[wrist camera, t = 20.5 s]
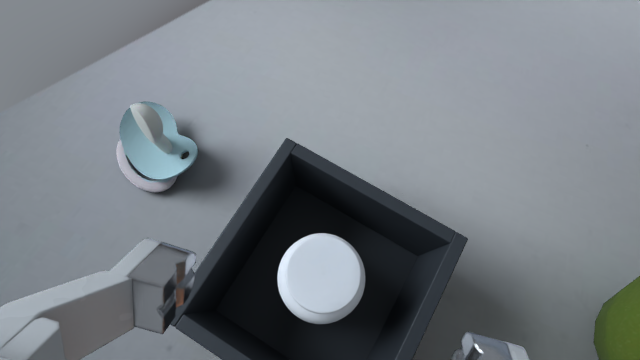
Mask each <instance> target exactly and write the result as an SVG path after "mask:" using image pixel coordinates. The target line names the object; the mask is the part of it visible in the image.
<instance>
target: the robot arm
mask: <svg viewBox="0 0 640 360" xmlns="http://www.w3.org/2000/svg"><path fill="white" fill-rule="evenodd" d="M195 263H196V254H195V253H194V252H192V251H189V250H186V249H183V248H180V247H177V246H174V245H170V244H167V243H164V242H160V241H157V240H153V239H150V238H146V239H143V240H142V241H141V242H140V243H139V244H137V245H136V246H135V247H134V248H133V249H132V250H131V251H130V252H129V253H128V254H127V255H126V256H125V257H124V258H123V259H121V260H120V261H119V262H118V263H117V264H116V265H115V266H114V267H113V268H112V269H111V270H110V271H105V270H103V271H100V272H97V273H94V274H91V275H88V276H85V277H82V278H79V279H76V280H73V281H70V282H68V283H65V284H62V285H59V286H56V287H53V288H50V289H47V290H44V291H41V292H38V293H35V294H32V295H29V296H26V297H23V298H20V299H17V300H14V301H11V302H8V303H6V304H4V305H3V306H2V307H0V360H80V359H82V358H83V357H85V356H87V355H89V354H90V353H92V352H94V351H96V350H97V349H99V348H101V347H102V346H104V345H106V344H108V343H109V342H111V341H113V340H114V339H116V338H118V337H120V336H121V335H123V334H125V333H126V332H128V331H130V330H132V329H133V328H134V327H138V328H142V329H145V330H149V331H152V332H156V333H160V334H163V333H164V332H165V331H166V329H167V328H168V326H169V325H170V323H171V322H172V321H173V319H174V318H175V316H176V308H177V307H180V306H182V305H184V303H185V302H186V300H187V299H188V297H189V295H190V293H191V290H192V288H193V285H194V280H195V273H194V272H193V270H192V267H193V266H194V264H195ZM461 343H462V348H460V349H457V350H455V352H454V353H453V355H452V357H451V360H529V357H528V354H527V352H526V350H525V349H524V348H523V346H519V345H516V344H512V343H508V342H505V341H504V342H503V341H501V340H497V339H493V338H490V337H486V336H483V335H479V334H476V333H472V332H469V331H468V332H467V333H465V334H464V336H463V337H462V339H461Z"/></svg>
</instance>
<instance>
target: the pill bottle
mask: <svg viewBox="0 0 640 360" xmlns="http://www.w3.org/2000/svg"><path fill="white" fill-rule="evenodd" d="M277 282H278V289H279V293H280V295H281V298H282V300H283V302H284V303H285V305H286V306H287V308H288V309H289V310H290V311H291V312H292V313H293V314H294V315H295V316H297V317H298V318H300V319H302V320H304V321H306V322H309V323H314V324H328V323H333V322H336V321H338V320H340V319H342V318H344V317H345V316H347V315H348V314H349V313H350V312H352V311H353V310H354V308H355V307H356V306H357V305H358V303H359V301H360V299H361V297H362V295H363V292H364V288H365V269H364V265H363V262H362V260H361V258H360V256H359V254H358V253H357V251H356V250H355V249H354V248H353V246H352V245H351V244H349V243H348V242H347V241H345V240H344V239H342V238H340V237H338V236H336V235H332V234H327V233H317V234H311V235H308V236H306V237H303V238H301V239H300V240H298V241H297V242H295V243H294V244H293V245H291V246H290V247H289V249H288V250H287V251H286V252H285V254H284V255H283V257H282V259H281V262H280V265H279V268H278V275H277Z"/></svg>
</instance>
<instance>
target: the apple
mask: <svg viewBox="0 0 640 360" xmlns="http://www.w3.org/2000/svg"><path fill="white" fill-rule="evenodd" d="M594 344H595V348H596V351H597V354H598V357H599V360H640V276H639V277H638V278H637V279H635V280H634V281H633V282H631V283H630V284H629V285H627V286H626V287H625V288H623V289H622V290H621V291H619V292H618V293H617V294H616V295H614V296H613V297H612V298H610V299H609V300H608V301H607V302H605V303H604V304H603V306H602V309H601V311H600V313H599V315H598V317H597V319H596V322H595V333H594Z"/></svg>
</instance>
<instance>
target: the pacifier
mask: <svg viewBox="0 0 640 360" xmlns="http://www.w3.org/2000/svg"><path fill="white" fill-rule="evenodd" d="M185 152H189V156H188V157H187V158H186V159H182V154H183V153H185ZM197 155H198V149H197V146H196V144H195V142H194V141H192V140H191V139H190V138H188V137H185V136H180V135H179V134H178V131H177V125H176V122H175V120H174V118H173V116H172V115H171V113H170V112H169V111H168V110H167V109H166V108H164V107H163V106H161V105H159V104H156V103H153V102H140V103H136V104H132V105H131V106H130V108H129V109H128V110H127V111H126V113H125V114H124V116H123V118H122V121H121V124H120V140H119V142H118V146H117V160H118V163H119V166H120V168H121V170H122V172H123V173H124V175H125V176H126V177H127V179H128V180H129V181H130V182H131V183H132V184H134V185H135V186H137V187H138V188H140V189H143V190H145V191H148V192H162V191H165V190H166V189H168V188H170V187H171V186H172V185H173V184H174V183H175V181H176V178H177V176H178V175H180V174H181V173H183V172H184V171H186V170H187V169H188V168H189V167H190V166H191V165H192V164H193V163H194V161H195V160H196V158H197ZM130 161H131V162H130ZM131 163H132V164H133V165H134V167H135V168H136V169H137V170H138V171H139V172H141V173H142V174H144V175H145V176H147V177H149V178H152V179H155V180H158V181H150V180H147V179H144V178H142V177H141V176H140V175H139V174H138V173H137V172H136V171H135V170H134V168H133V167H132V165H131Z"/></svg>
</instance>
